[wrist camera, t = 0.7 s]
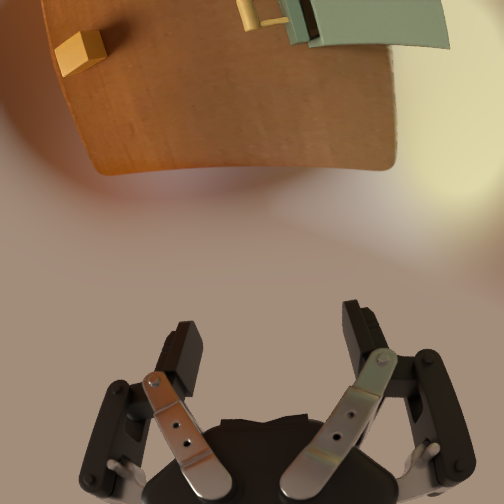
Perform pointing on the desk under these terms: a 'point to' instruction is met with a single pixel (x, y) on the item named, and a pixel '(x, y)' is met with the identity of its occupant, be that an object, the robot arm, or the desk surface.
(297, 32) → the drawer
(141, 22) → the desk surface
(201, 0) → the desk surface
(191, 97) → the desk surface
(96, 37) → the block
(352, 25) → the cabinet
